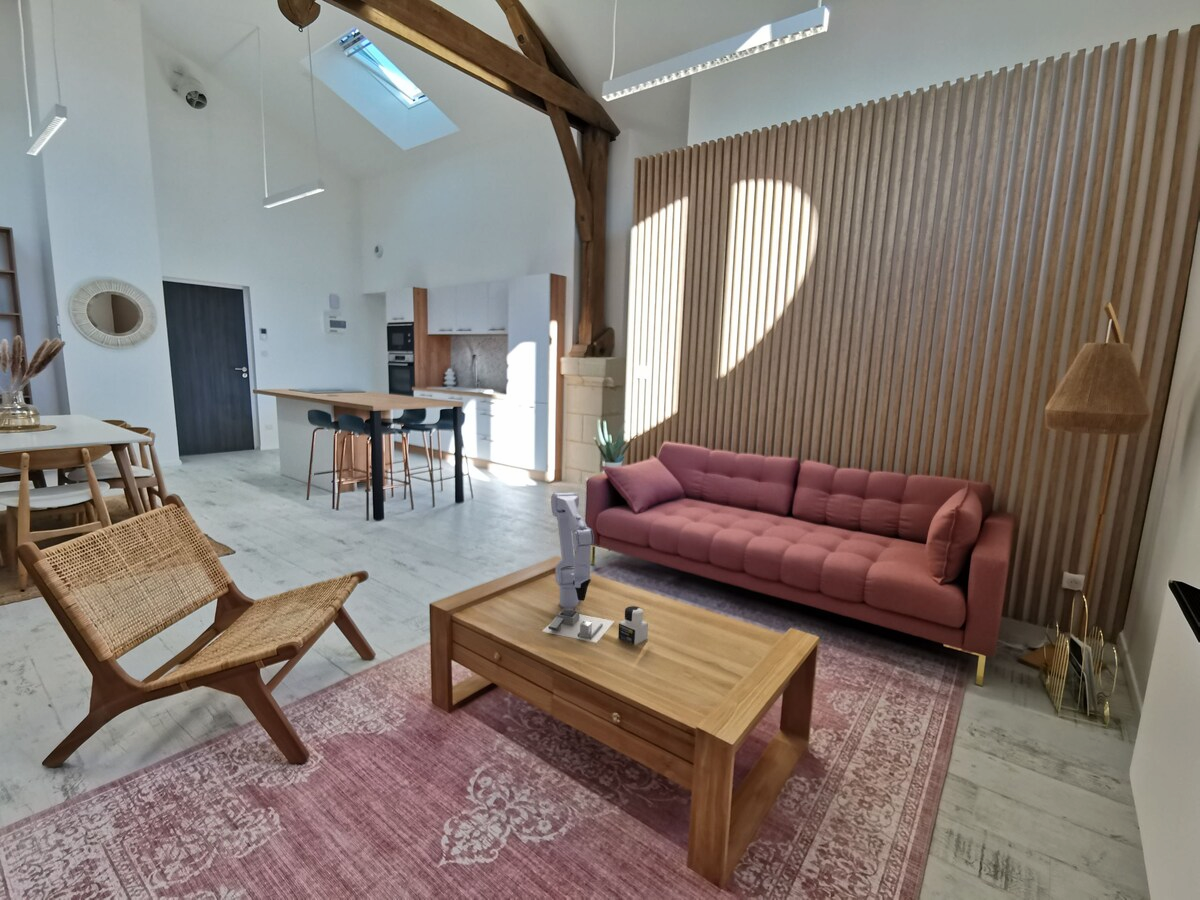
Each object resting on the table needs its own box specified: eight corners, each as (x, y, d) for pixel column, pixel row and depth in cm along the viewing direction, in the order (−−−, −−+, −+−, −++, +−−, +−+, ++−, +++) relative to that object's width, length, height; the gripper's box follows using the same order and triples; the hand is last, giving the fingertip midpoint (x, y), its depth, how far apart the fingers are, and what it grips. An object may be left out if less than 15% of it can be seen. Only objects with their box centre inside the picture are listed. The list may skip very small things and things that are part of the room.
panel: (563, 615, 217) (563, 603, 216) (614, 624, 210) (614, 613, 209) (541, 635, 200) (541, 623, 199) (596, 646, 193) (596, 634, 192)
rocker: (556, 619, 204) (555, 616, 204) (563, 620, 203) (563, 618, 203) (548, 628, 199) (548, 626, 199) (556, 630, 198) (556, 628, 198)
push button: (565, 616, 211) (565, 606, 210) (575, 618, 209) (576, 608, 209) (560, 621, 207) (561, 610, 207) (571, 623, 206) (571, 612, 205)
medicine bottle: (617, 642, 197) (618, 608, 195) (631, 635, 202) (632, 602, 200) (634, 649, 192) (635, 614, 190) (647, 642, 197) (649, 608, 195)
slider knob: (583, 631, 199) (583, 620, 199) (591, 633, 198) (591, 622, 198) (579, 635, 196) (580, 624, 196) (588, 637, 195) (588, 626, 195)
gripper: (576, 555, 213) (575, 591, 215) (566, 568, 199) (565, 606, 201) (595, 557, 212) (594, 593, 214) (586, 570, 198) (585, 608, 200)
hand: (581, 599), depth 208 cm, fingers closed
